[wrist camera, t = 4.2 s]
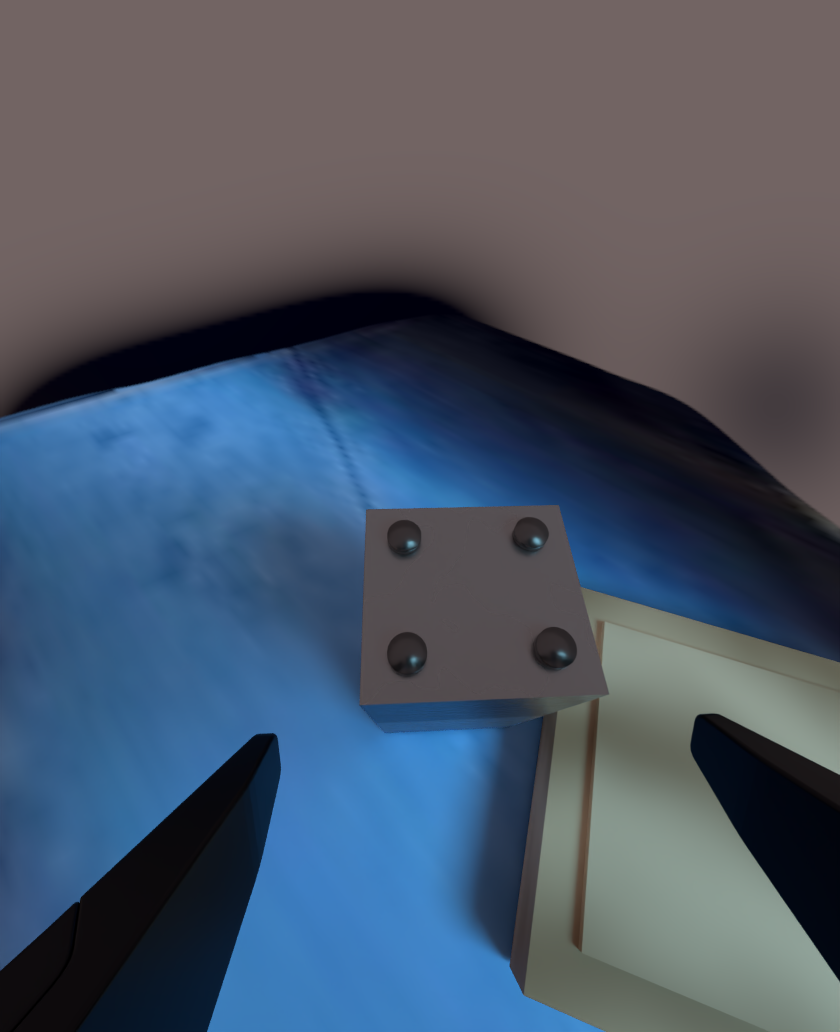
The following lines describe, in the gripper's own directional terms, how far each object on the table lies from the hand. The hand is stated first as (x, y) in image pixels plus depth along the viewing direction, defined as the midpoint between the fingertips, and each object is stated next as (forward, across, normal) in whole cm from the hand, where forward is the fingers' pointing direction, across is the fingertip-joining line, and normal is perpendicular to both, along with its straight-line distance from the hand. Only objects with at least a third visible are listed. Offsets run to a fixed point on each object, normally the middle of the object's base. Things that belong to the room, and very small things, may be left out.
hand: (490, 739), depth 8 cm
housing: (+10, 0, +5) cm, 11 cm away
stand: (+6, -11, +9) cm, 15 cm away
